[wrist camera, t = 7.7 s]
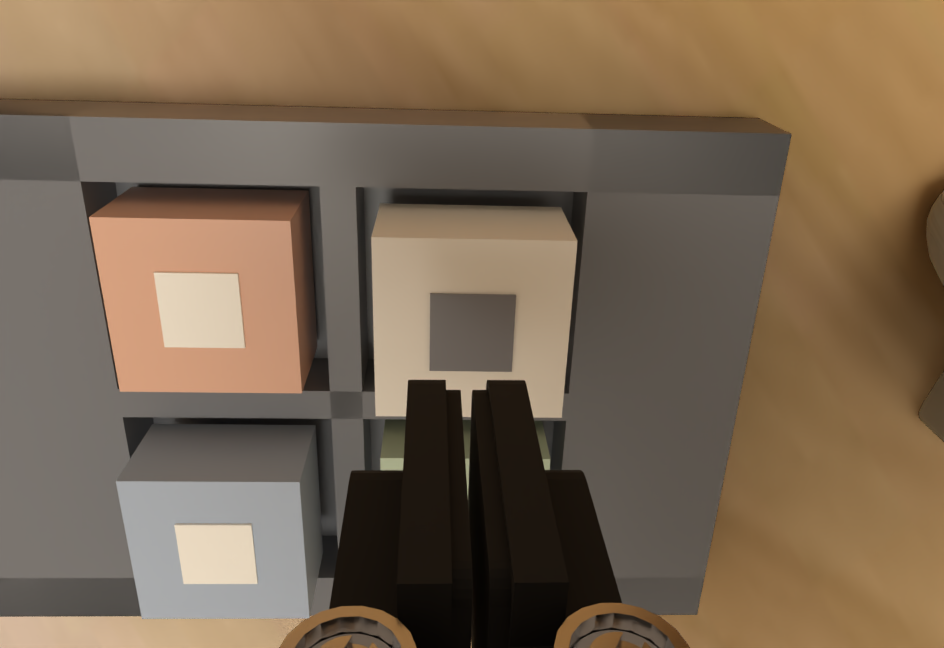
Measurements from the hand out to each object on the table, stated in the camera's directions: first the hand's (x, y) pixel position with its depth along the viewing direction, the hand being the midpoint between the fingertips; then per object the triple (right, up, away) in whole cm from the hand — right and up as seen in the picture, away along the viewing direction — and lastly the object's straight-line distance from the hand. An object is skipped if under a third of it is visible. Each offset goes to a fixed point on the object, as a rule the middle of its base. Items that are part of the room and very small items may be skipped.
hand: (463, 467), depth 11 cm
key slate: (-6, -2, +10) cm, 12 cm away
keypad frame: (-3, +1, +10) cm, 11 cm away
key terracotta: (-6, +3, +8) cm, 11 cm away
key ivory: (0, +3, +8) cm, 8 cm away
